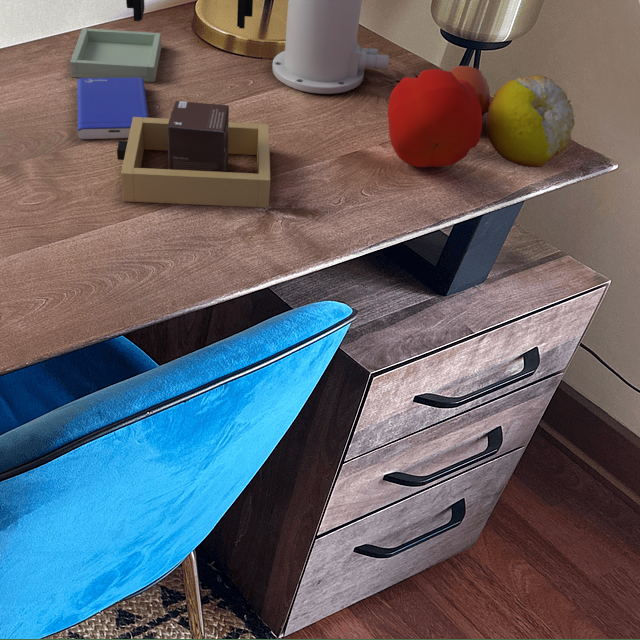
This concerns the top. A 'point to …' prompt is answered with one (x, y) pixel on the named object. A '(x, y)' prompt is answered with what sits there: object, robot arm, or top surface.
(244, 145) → the tan rectangular bin
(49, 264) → the top surface
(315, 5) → the robot arm
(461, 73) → the tomato
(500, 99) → the fruit
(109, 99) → the hard drive
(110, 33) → the tray
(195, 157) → the box
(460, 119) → the tomato
